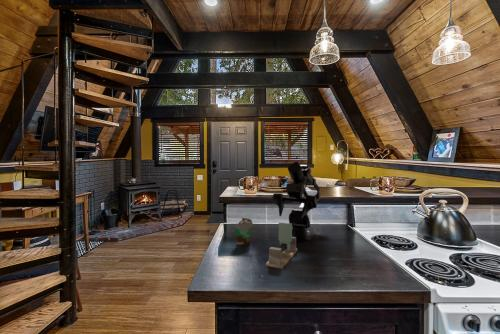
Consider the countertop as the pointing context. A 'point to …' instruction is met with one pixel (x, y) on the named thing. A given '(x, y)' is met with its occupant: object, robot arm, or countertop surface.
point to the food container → (243, 232)
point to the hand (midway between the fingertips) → (290, 217)
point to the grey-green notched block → (285, 234)
